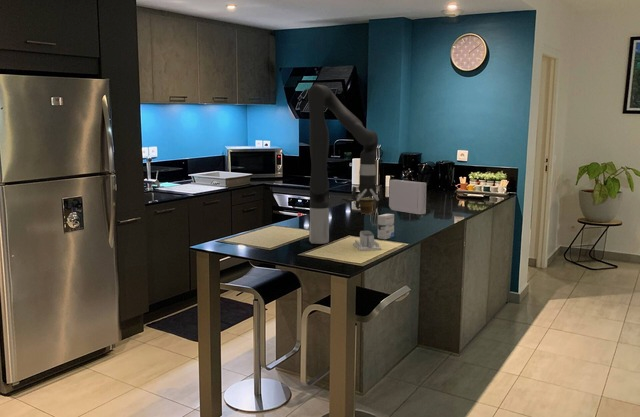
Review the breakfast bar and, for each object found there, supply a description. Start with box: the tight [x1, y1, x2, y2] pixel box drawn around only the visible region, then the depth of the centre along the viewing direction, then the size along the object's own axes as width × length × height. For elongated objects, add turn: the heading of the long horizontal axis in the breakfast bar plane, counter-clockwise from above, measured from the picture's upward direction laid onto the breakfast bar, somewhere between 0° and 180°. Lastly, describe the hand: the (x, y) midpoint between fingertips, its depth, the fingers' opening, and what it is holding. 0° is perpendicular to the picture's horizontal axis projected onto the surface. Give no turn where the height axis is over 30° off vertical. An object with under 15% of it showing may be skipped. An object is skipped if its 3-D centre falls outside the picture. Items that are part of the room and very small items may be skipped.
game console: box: [388, 179, 427, 215], centre depth 371 cm, size 6×27×20 cm, turn 39°
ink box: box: [377, 213, 395, 240], centre depth 289 cm, size 8×5×12 cm, turn 141°
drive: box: [359, 230, 375, 247], centre depth 267 cm, size 4×9×6 cm, turn 9°
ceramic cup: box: [353, 197, 375, 216], centre depth 362 cm, size 13×10×10 cm
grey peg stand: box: [352, 237, 382, 252], centre depth 267 cm, size 10×14×6 cm
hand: (366, 208), depth 265 cm, fingers open, 8 cm apart
